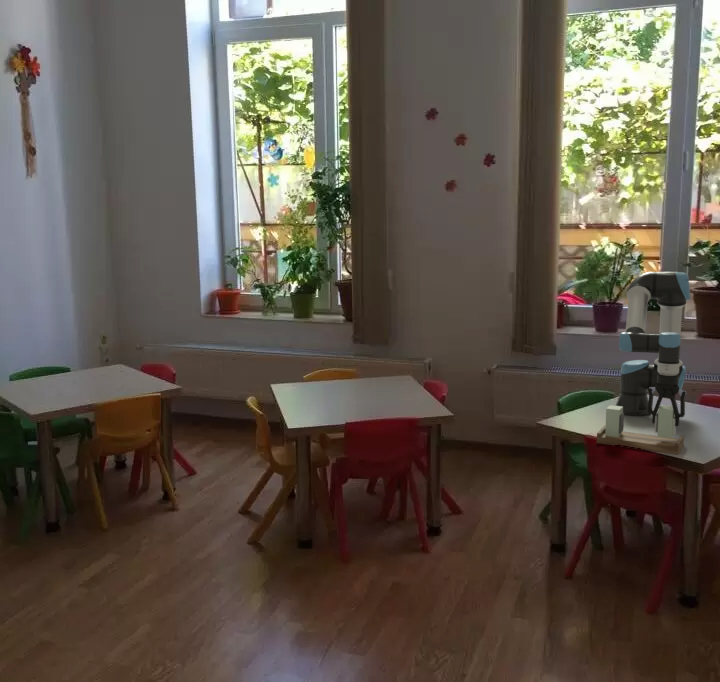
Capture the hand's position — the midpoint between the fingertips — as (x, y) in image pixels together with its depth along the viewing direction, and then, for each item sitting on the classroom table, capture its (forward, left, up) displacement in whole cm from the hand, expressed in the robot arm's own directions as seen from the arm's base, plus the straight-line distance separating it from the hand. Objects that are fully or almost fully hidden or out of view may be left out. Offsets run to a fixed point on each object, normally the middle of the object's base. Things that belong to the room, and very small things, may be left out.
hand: (664, 432), depth 288 cm
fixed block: (0, -19, -3) cm, 19 cm away
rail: (0, -9, -6) cm, 11 cm away
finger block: (0, 0, -1) cm, 1 cm away
